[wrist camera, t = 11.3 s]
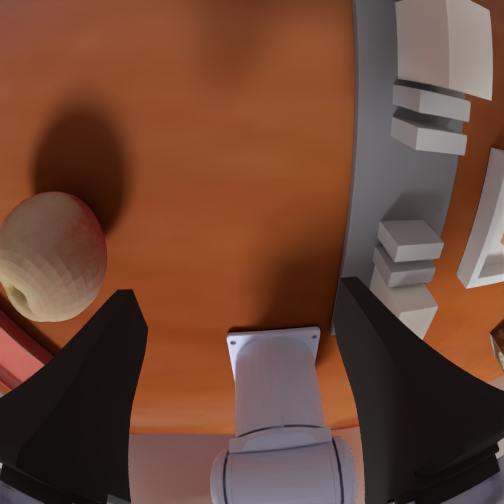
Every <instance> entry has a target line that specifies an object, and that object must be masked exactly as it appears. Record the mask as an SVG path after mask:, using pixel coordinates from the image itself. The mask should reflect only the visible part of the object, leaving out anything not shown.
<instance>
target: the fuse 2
mask: <svg viewBox="0 0 504 504" xmlns="http://www.w3.org/2000/svg"><path fill="white" fill-rule="evenodd" d="M395 8H396V21H397V42H398V79H402V80H407V81H413V82H418V83H422V84H427V85H432V86H436V87H440V88H445V89H449V90H454V91H458V92H462V93H466V94H470V95H473V96H477V97H480V98H484V99H487V100H492V79H493V52H492V32H491V20H490V11H489V10H488V9H486V8H484V7H482V6H480V5H478V4H476V3H474V2H472V1H470V0H402V1H398V2H395Z"/></svg>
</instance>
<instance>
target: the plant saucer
mask: <svg viewBox="0 0 504 504" xmlns="http://www.w3.org/2000/svg"><path fill="white" fill-rule="evenodd" d="M53 357H54V356H53V355H52V354H50V353H49V352H48V351H47V350H45V349H44V348H43V347H42V346H40V345H39V344H38V343H37V342H36V341H34V340H33V339H32V338H31V337H30V336H29V335H28V334H26V333H25V332H24V331H23V330H22V329H21V328H20V327H19V326H18V325H17V324H15V323H14V322H13V321H12V320H11V319H10V318H9V317H8V316H7V315H6V314H5V313H4V312H3V311H2V310H1V309H0V383H2V384H3V385H4V386H5V387H7V388H8V389H9V390H11V391H12V390H13V389H15V388H16V387H18V386H19V385H20V384H22V383H23V382H24V381H26V380H27V379H28V378H29V377H31V376H32V375H33V374H34V373H36V372H37V371H38V370H40V369H41V368H42V367H43V366H44V365H45V364H46V363H48V362H49V361H50V360H51V359H52V358H53Z"/></svg>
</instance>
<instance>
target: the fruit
mask: <svg viewBox="0 0 504 504" xmlns="http://www.w3.org/2000/svg"><path fill="white" fill-rule="evenodd" d="M106 266H107V248H106V243H105V238H104V234H103V232H102V229H101V226H100V224H99V222H98V220H97V218H96V216H95V215H94V213H93V212H92V210H91V209H90V208H89V206H88V205H87V204H86V203H85V202H84V201H82V200H81V199H79V198H78V197H76V196H74V195H71V194H68V193H64V192H57V191H50V192H44V193H39V194H37V195H34V196H32V197H30V198H28V199H25V200H24V201H22V202H21V203H20V204H19V205H18V206H16V207H15V208H14V209H13V210H12V211H11V212H10V213H9V214H8V216H7V217H6V218H5V220H4V222H3V224H2V226H1V229H0V281H1V283H2V285H3V287H4V288H5V290H6V293H7V295H8V298H9V300H10V301H11V303H12V305H13V306H14V307H15V308H16V310H17V311H18V312H20V313H21V314H22V315H23V316H25V317H26V318H28V319H30V320H33V321H40V322H44V321H51V322H57V321H63V320H67V319H71V318H73V317H75V316H76V315H78V314H79V313H81V312H82V311H83V310H84V309H85V308H87V307H88V306H89V305H90V304H91V303H92V302H93V301H94V299H95V298H96V296H97V294H98V293H99V291H100V289H101V287H102V284H103V280H104V276H105V272H106Z"/></svg>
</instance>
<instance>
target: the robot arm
mask: <svg viewBox="0 0 504 504" xmlns="http://www.w3.org/2000/svg"><path fill="white" fill-rule="evenodd" d="M333 323H334V329H335V334H336V339H337V344H338V347H339V350H340V354H341V357H342V360H343V363H344V366H345V369H346V373H347V376H348V379H349V382H350V385H351V389H352V392H353V395H354V399H355V403H356V408H357V414H358V420H359V426H360V433H361V441H362V450H363V461H364V476H365V477H364V478H365V504H393V503H395V504H504V455H503V456H502V457H500V458H498V459H496V455H495V453H497V452H498V451H499V447H498V444H497V442H498V441H500V440H501V439H503V438H504V391H503V390H500V389H498V388H496V387H493V386H491V385H489V384H487V383H486V382H484V381H482V380H480V379H478V378H476V377H474V376H473V375H471V374H469V373H468V372H466V371H464V370H463V369H461V368H460V367H458V366H457V365H455V364H454V363H452V362H451V361H449V360H448V359H446V358H445V357H444V356H442V355H441V354H439V353H438V352H437V351H436V350H434V349H433V348H432V347H430V346H429V345H428V344H427V343H425V342H424V341H423V340H422V339H420V338H419V337H418V336H417V335H416V334H415V333H414V332H413V331H411V330H410V329H409V328H408V327H407V326H406V325H405V324H404V323H403V322H402V321H400V320H399V319H398V318H397V317H396V316H395V315H394V314H393V313H392V312H391V311H390V310H389V309H388V308H387V307H386V306H385V305H384V304H383V303H382V302H381V301H380V300H379V299H378V298H377V297H376V296H375V295H374V294H373V293H372V292H371V290H370V289H369V288H368V287H367V286H366V285H365V284H364V283H363V282H362V281H361V280H360V279H359V278H358V277H357V276H354V277H343V278H340V281H339V287H338V293H337V298H336V304H335V309H334V315H333ZM147 334H148V327H147V324H146V322H145V320H144V317H143V315H142V312H141V310H140V307H139V305H138V302H137V300H136V297H135V295H134V292H133V289H125V290H117V291H116V292H115V293H114V294H113V295H112V296H111V297H110V298H109V299H108V300H107V301H106V302H105V303H104V304H103V305H102V307H101V308H100V309H99V310H98V311H97V312H96V313H95V314H94V315H93V316H92V318H91V319H90V320H89V321H88V322H87V323H86V324H85V325H84V326H83V327H82V329H81V330H80V331H79V332H78V333H77V334H76V335H75V336H74V337H73V338H72V339H71V340H70V341H69V342H68V343H67V344H66V345H65V346H64V347H63V348H62V349H61V350H60V351H59V352H58V353H57V354H56V355H55V356H54V357H53V358H52V359H51V360H50V361H49V362H48V363H46V364H45V365H44V366H43V367H42V368H41V369H40V370H38V371H37V372H36V373H34V374H33V375H32V376H31V377H29V378H28V379H27V380H26V381H24V382H23V383H22V384H20V385H19V386H18V387H16V388H15V389H13V390H12V391H10V392H9V393H7V394H6V395H4V396H2V397H1V398H0V462H1V463H2V464H3V465H2V469H1V468H0V504H107V503H108V504H130V503H131V498H130V489H129V476H128V444H129V443H128V442H129V428H130V417H131V410H132V404H133V400H134V395H135V391H136V387H137V383H138V379H139V375H140V371H141V367H142V363H143V359H144V355H145V350H146V343H147ZM319 338H320V328H319V327H306V328H294V329H282V330H268V331H252V332H232V333H229V334H228V335H227V343H228V349H229V354H230V359H231V364H232V370H233V375H234V380H235V438H231V439H229V449H224V450H222V451H221V452H220V453H219V455H218V456H217V457H216V458H215V459H214V462H213V464H212V469H211V480H210V485H211V486H210V487H211V496H212V501H213V504H355V503H356V498H357V475H356V468H355V463H354V458H353V454H352V451H351V448H350V445H349V443H348V442H347V441H346V440H344V439H342V437H341V436H334V437H331V431H330V427H326V422H325V416H324V411H323V406H322V400H321V395H320V389H319V384H318V379H317V374H316V369H315V360H316V355H317V349H318V344H319Z"/></svg>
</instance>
